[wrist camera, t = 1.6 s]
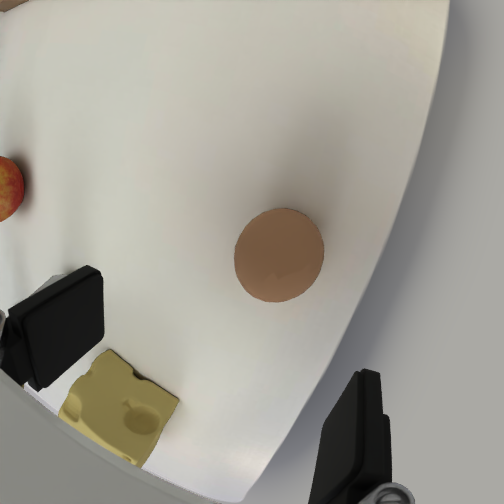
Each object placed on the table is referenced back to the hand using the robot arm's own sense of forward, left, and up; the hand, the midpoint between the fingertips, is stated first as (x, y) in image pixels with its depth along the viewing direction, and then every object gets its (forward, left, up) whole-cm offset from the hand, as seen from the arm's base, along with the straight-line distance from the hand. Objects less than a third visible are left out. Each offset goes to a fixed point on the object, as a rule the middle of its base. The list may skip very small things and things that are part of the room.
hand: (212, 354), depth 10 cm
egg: (0, 0, -14) cm, 14 cm away
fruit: (+32, +3, -14) cm, 35 cm away
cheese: (+12, +25, -14) cm, 31 cm away
